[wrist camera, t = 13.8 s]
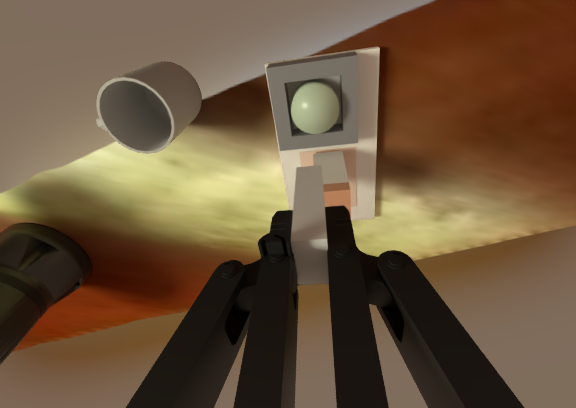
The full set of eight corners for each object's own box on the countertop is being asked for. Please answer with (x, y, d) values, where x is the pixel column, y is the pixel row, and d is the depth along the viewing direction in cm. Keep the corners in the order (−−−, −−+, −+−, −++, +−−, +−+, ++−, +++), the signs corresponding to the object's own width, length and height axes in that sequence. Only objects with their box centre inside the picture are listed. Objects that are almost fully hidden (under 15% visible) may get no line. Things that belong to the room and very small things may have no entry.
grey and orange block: (315, 174, 38) (316, 221, 30) (313, 149, 36) (313, 192, 28) (342, 171, 38) (351, 218, 30) (341, 146, 36) (350, 189, 28)
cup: (212, 115, 36) (187, 145, 28) (142, 133, 38) (102, 165, 30) (186, 52, 32) (149, 67, 25) (110, 76, 34) (54, 96, 27)
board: (292, 220, 44) (290, 235, 41) (265, 63, 32) (261, 69, 29) (373, 214, 43) (377, 229, 40) (377, 46, 30) (384, 51, 27)
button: (295, 126, 34) (294, 136, 32) (289, 82, 32) (287, 88, 29) (338, 121, 34) (340, 131, 31) (336, 75, 31) (338, 82, 28)
